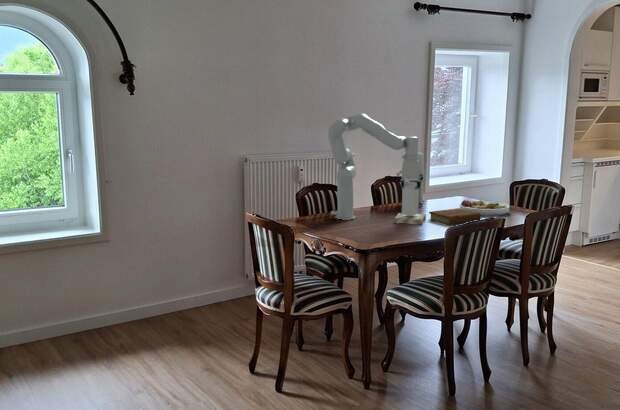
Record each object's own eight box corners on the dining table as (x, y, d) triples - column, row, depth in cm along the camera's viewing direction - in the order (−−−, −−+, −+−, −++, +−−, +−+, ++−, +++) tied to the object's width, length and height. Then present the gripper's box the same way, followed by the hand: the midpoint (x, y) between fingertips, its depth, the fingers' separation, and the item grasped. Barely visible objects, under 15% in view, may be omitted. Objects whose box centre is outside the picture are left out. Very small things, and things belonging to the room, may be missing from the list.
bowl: (503, 208, 398) (503, 196, 397) (514, 217, 369) (514, 204, 367) (456, 208, 401) (456, 196, 400) (463, 217, 372) (463, 204, 370)
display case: (401, 204, 416) (402, 152, 410) (416, 203, 418) (417, 152, 412) (407, 207, 405) (408, 154, 399) (422, 206, 407) (423, 154, 401)
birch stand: (394, 223, 355) (394, 218, 354) (398, 218, 370) (398, 213, 369) (422, 224, 350) (422, 219, 350) (425, 219, 365) (425, 214, 365)
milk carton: (412, 215, 354) (413, 183, 351) (401, 214, 359) (402, 182, 355) (418, 213, 360) (419, 182, 357) (407, 212, 364) (408, 181, 361)
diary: (449, 227, 346) (450, 217, 345) (428, 221, 362) (429, 211, 361) (480, 222, 357) (480, 212, 356) (458, 217, 373) (459, 207, 372)
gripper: (395, 158, 352) (394, 188, 356) (425, 159, 347) (424, 189, 351) (397, 157, 360) (396, 186, 363) (427, 157, 354) (426, 187, 358)
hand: (410, 187), depth 357 cm, fingers closed on milk carton, 8 cm apart
